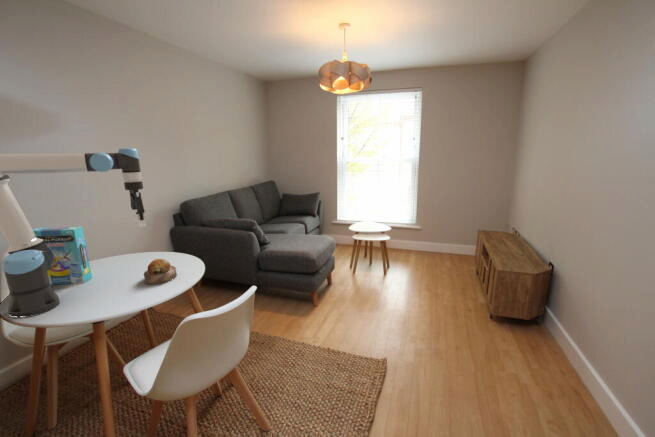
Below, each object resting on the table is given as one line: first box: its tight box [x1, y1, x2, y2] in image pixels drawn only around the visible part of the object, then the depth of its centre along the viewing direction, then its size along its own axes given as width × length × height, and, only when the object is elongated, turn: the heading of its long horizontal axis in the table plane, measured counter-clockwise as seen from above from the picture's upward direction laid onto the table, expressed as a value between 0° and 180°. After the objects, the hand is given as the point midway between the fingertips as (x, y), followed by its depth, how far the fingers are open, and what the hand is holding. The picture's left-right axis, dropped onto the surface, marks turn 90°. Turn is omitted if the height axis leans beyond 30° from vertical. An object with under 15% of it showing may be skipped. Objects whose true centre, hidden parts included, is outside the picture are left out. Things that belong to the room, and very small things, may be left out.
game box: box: [32, 226, 93, 286], centre depth 147 cm, size 20×6×27 cm, turn 95°
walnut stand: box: [143, 265, 178, 286], centre depth 151 cm, size 14×14×4 cm
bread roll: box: [147, 258, 172, 275], centre depth 151 cm, size 10×10×8 cm
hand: (139, 224), depth 151 cm, fingers open, 13 cm apart
